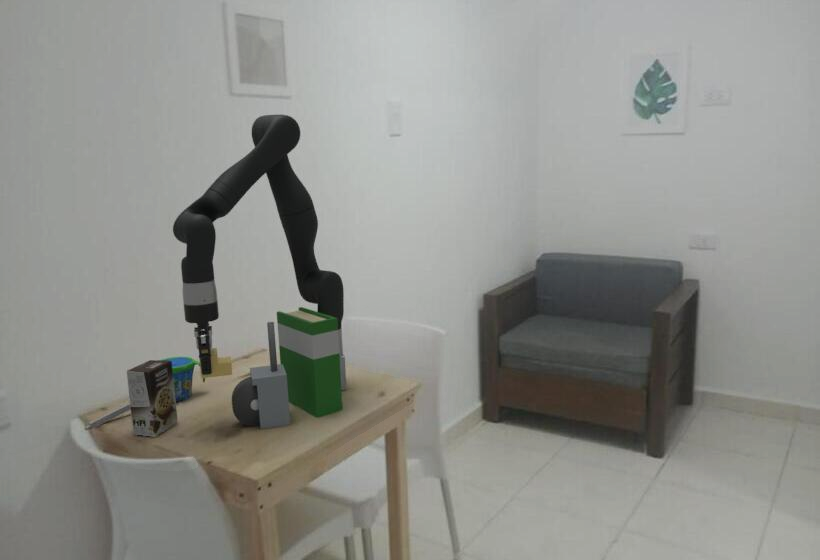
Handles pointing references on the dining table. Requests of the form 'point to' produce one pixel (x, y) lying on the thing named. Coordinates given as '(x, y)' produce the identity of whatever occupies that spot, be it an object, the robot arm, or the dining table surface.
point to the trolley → (263, 393)
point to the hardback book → (311, 360)
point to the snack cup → (183, 376)
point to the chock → (218, 365)
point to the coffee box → (152, 397)
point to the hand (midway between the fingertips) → (206, 370)
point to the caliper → (109, 416)
